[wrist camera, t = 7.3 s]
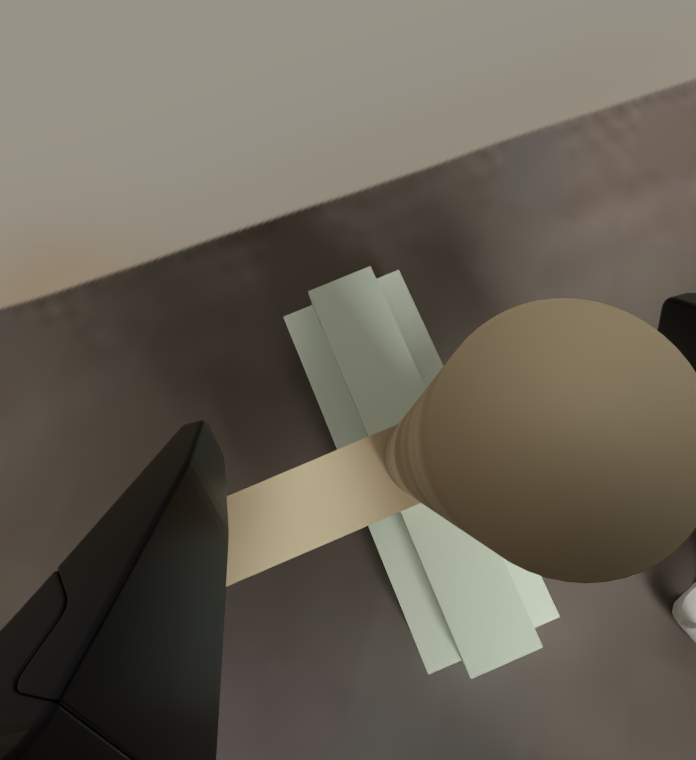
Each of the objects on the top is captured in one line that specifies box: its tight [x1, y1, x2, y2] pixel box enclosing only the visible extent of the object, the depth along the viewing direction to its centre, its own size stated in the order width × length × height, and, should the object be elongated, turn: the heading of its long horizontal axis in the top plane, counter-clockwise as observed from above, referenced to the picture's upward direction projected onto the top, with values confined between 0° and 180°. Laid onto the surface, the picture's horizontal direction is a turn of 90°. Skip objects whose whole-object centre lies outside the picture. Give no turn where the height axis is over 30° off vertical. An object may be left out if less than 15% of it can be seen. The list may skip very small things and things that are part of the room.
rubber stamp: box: [226, 298, 696, 587], centre depth 10 cm, size 14×2×12 cm, turn 113°
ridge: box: [283, 266, 560, 679], centre depth 19 cm, size 14×5×4 cm, turn 23°
